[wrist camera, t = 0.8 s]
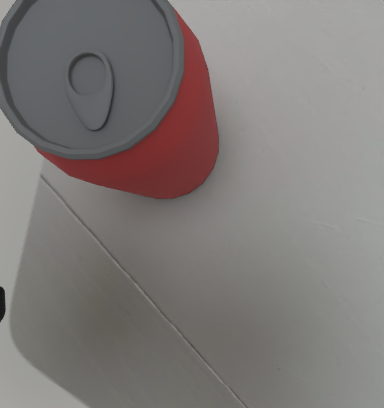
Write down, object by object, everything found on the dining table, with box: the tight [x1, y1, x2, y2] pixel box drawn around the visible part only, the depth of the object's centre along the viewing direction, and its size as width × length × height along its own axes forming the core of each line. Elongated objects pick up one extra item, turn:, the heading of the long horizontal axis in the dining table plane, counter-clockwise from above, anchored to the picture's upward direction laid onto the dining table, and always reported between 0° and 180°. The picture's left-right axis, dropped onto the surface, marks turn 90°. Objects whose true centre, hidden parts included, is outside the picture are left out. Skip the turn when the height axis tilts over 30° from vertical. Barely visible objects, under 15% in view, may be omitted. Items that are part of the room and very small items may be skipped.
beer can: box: [0, 0, 219, 199], centre depth 15 cm, size 7×7×12 cm
